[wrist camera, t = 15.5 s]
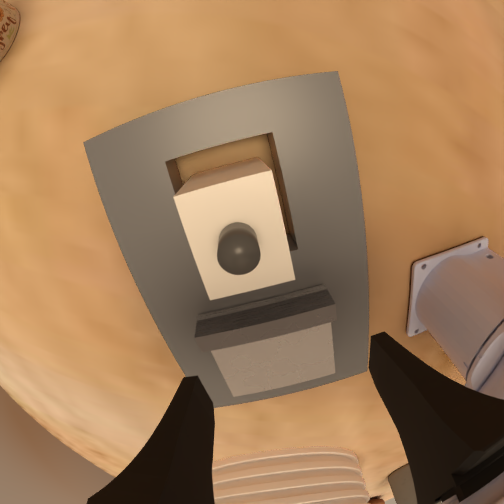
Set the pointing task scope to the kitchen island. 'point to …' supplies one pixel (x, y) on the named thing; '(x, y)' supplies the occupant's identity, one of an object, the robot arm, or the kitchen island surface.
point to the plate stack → (290, 477)
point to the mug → (7, 26)
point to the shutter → (271, 340)
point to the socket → (294, 200)
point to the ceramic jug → (376, 501)
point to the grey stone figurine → (403, 486)
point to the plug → (235, 228)
